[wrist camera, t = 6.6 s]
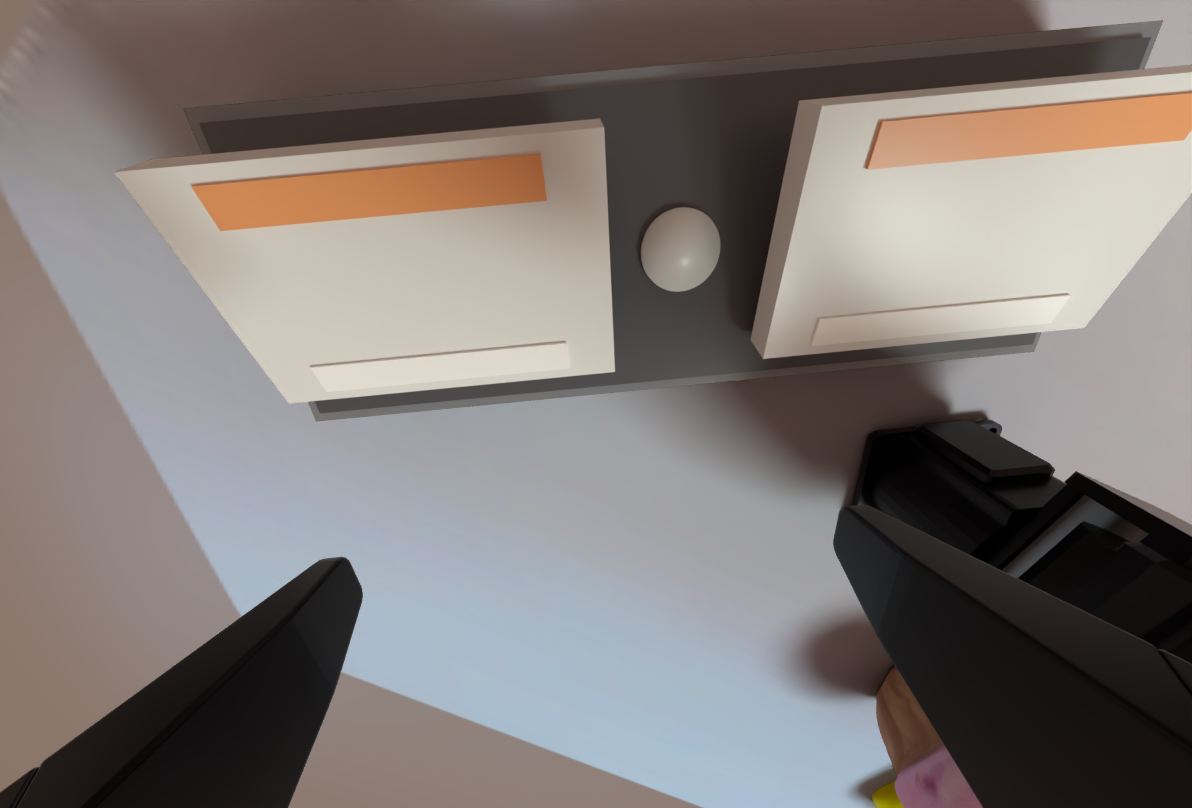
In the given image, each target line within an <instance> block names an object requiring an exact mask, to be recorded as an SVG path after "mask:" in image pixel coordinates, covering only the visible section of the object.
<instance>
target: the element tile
mask: <svg viewBox="0 0 1192 808" xmlns="http://www.w3.org/2000/svg"><path fill="white" fill-rule="evenodd" d="M871 798H872V800H873V803H874V805H875V807H876V808H904V807H903V805H902V803H901V801H900V799H899V798H898V796H897V794H896V790H895V781H893V782H891V783H889V784H887V785H885V786H883V787H881V788H879V789H878V790H877V791H875V792H874V793H873V795H872V797H871Z"/></svg>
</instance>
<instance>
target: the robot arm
mask: <svg viewBox="0 0 1192 808" xmlns="http://www.w3.org/2000/svg"><path fill="white" fill-rule="evenodd" d="M1001 431H1002V427H1001V425H1000V424H998V423H996V422H994V421H992V420H979V421H971V420H965V421H955V422H945V423H935V424H924V425H921V426H918V427H908V428H898V429H888V430H879V431H875V432H873V433H872V434H871V435H870V436H869V437H868V439H867V443H866V447H865V451H864V456H863V460H862V464H861V469H860V473H859V477H858V482H857V486H856V490H855V495H854V499H853V503H852V506H845V507H843V508H842V509H841V510H840V512H839V516H838V521H837V525H836V530H835V535H834V540H833V545H834V550H835V553H836V555H837V557H838V559H839V561H840V563H841V565H842V567H843V569H844V571H845V573H846V575H847V577H848V579H849V581H850V583H851V585H852V588H853V590H854V592H855V594H856V596H857V598H858V600H859V602H860V604H861V606H862V608H863V610H864V612H865V614H866V616H867V618H868V620H869V622H870V624H871V626H872V627H873V629H874V631H875V633H876V635H877V637H878V638H879V640H880V642H881V644H882V645H883V647H884V649H885V650H886V652H887V654H888V655H889V657H890V658H891V660H892V662H893V663H894V665H895V666H896V668H897V670H898V671H899V673H900V675H901V676H902V678H903V679H904V681H905V683H906V684H907V686H908V688H909V689H910V691H911V692H912V694H913V696H914V697H915V699H916V700H917V702H918V704H919V705H920V707H921V709H922V710H923V712H924V713H925V715H926V717H927V718H928V720H929V721H930V723H931V725H932V726H933V728H934V730H935V731H936V733H937V734H938V736H939V738H940V739H941V741H942V743H943V744H944V746H945V747H946V749H947V751H948V752H949V754H950V755H951V757H952V759H953V760H954V762H955V764H956V765H957V767H958V768H959V770H960V772H961V773H962V775H963V776H964V778H965V780H966V781H967V783H968V785H969V786H970V788H971V789H972V791H973V793H974V794H975V796H976V798H977V799H978V801H979V802H980V804H981V806H982V807H983V808H1192V525H1191V524H1189V523H1187V522H1185V521H1183V520H1181V519H1179V518H1177V517H1175V516H1173V515H1171V514H1169V513H1167V512H1165V511H1163V510H1161V509H1159V508H1157V507H1155V506H1153V505H1151V504H1149V503H1147V502H1144V501H1142V500H1140V499H1138V498H1135V497H1133V496H1131V495H1129V494H1126V493H1124V492H1122V491H1120V490H1117V489H1115V488H1113V487H1111V486H1108V485H1106V484H1104V483H1101V482H1099V481H1097V480H1095V479H1092V478H1090V477H1088V476H1086V475H1083V474H1081V473H1079V472H1077V471H1076V472H1075V473H1073V474H1072V475H1071V476H1070V477H1069V478H1068V479H1067V480H1066V481H1065V483H1064V482H1062V481H1060V480H1059V479H1057V478H1055V477H1053V473H1054V471H1055V469H1054V468H1053V467H1052V466H1051V464H1050V463H1048V462H1046V461H1044V460H1042V459H1041V458H1039V457H1037V456H1035V455H1033V454H1031V453H1030V452H1028V451H1026V450H1024V449H1022V448H1021V447H1019V446H1017V445H1015V444H1013V443H1011V442H1010V441H1008V440H1006V439H1004V438H1002V437H1000V434H1001ZM880 439H881V441H880V442H879V443H878V441H879V440H880ZM362 597H363V592H362V587H361V585H360V583H359V581H358V578H357V576H356V574H355V572H354V570H353V568H352V565H351V563H350V562H349V560H348V559H346V558H345V557H336V558H326V559H322V560H319V561H318V562H316V563H315V564H313V565H312V566H311V567H309V568H308V569H307V570H305V571H304V572H302V573H301V574H300V575H298V576H297V577H296V578H294V579H293V580H291V581H290V582H289V583H287V584H286V585H285V586H283V587H282V588H280V589H279V590H278V591H276V592H275V593H274V594H272V595H271V596H269V597H268V598H267V599H265V600H264V601H263V602H261V603H260V604H258V605H257V606H256V607H254V608H253V609H252V610H250V611H249V612H247V613H246V614H245V615H243V616H242V617H241V618H239V619H238V620H236V621H235V622H234V623H232V624H231V625H230V626H228V627H227V628H225V629H224V630H223V631H221V632H220V633H219V634H217V635H216V636H214V637H213V638H212V639H210V640H209V641H208V642H206V643H205V644H203V645H202V646H201V647H199V648H198V649H197V650H195V651H194V652H192V653H191V654H190V655H189V656H187V657H186V658H184V659H183V660H182V661H180V662H179V663H177V664H176V665H175V666H173V667H172V668H171V669H169V670H168V671H166V672H165V673H164V674H162V675H161V676H160V677H158V678H157V679H156V680H154V681H153V682H151V683H150V684H149V685H147V686H146V687H144V688H143V689H142V690H140V691H139V692H138V693H136V694H135V695H133V696H132V697H131V698H129V699H128V700H127V701H125V702H124V703H122V704H121V705H120V706H119V707H117V708H116V709H114V710H113V711H111V712H110V713H109V714H107V715H106V716H105V717H103V718H102V719H101V720H99V721H98V722H96V723H95V724H94V725H92V726H91V727H89V728H88V729H87V730H85V731H84V732H83V733H81V734H80V735H78V736H77V737H76V738H74V739H73V740H72V741H70V742H69V743H67V744H66V745H65V746H63V747H62V748H61V749H59V750H58V751H57V752H55V753H54V754H52V755H51V756H50V757H48V758H47V759H46V760H44V761H43V762H42V764H41V765H40V767H36V768H33V769H32V770H30V771H29V772H27V773H26V774H25V775H23V776H22V777H21V778H19V779H18V780H16V781H15V782H14V783H12V784H11V785H10V786H8V787H7V788H6V789H4V790H3V791H1V792H0V808H288V806H289V804H290V801H291V799H292V796H293V793H294V792H295V789H296V786H297V784H298V782H299V779H300V777H301V774H302V772H303V769H304V767H305V764H306V762H307V759H308V757H309V754H310V752H311V749H312V747H313V745H314V742H315V739H316V737H317V735H318V732H319V730H320V727H321V725H322V722H323V720H324V717H325V715H326V712H327V710H328V707H329V705H330V702H331V699H332V697H333V694H334V692H335V689H336V685H337V683H338V680H339V677H340V673H341V670H342V667H343V663H344V660H345V657H346V653H347V650H348V647H349V643H350V640H351V637H352V633H353V630H354V627H355V623H356V620H357V617H358V613H359V610H360V607H361V603H362Z"/></svg>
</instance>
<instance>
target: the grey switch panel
mask: <svg viewBox="0 0 1192 808" xmlns="http://www.w3.org/2000/svg"><path fill="white" fill-rule="evenodd" d="M1162 22H1163V20H1161V21H1150V22H1139V23H1128V24H1117V25H1105V26H1094V27H1083V28H1072V29H1061V30H1050V31H1039V32H1028V33H1017V34H1006V35H994V36H983V37H972V38H961V39H950V40H939V41H928V42H917V43H906V44H894V45H883V46H872V47H861V48H850V49H839V50H828V51H817V52H806V53H795V54H783V55H772V56H761V57H750V58H739V59H728V60H717V61H706V62H695V63H683V64H672V65H661V66H650V67H639V68H628V69H617V70H606V71H595V72H584V73H572V74H561V75H550V76H539V77H528V78H517V79H506V80H495V81H484V82H473V83H461V84H450V85H439V86H428V87H417V88H406V89H395V90H384V91H373V92H361V93H350V94H339V95H328V96H317V97H306V98H295V99H284V100H273V101H262V102H250V103H239V104H228V105H217V106H206V107H195V108H184V112H185V114H186V116H187V119H188V121H189V123H190V126H191V128H192V130H193V133H194V135H195V138H196V140H197V142H198V145H199V147H200V149H201V152H202V154H203V155H205V154H216V153H227V152H238V151H249V150H260V149H271V148H282V147H293V146H304V145H315V144H326V143H337V142H348V141H359V140H370V139H381V138H392V137H403V136H414V135H425V134H436V133H447V132H457V131H468V130H479V129H490V128H501V127H512V126H523V125H534V124H545V123H556V122H567V121H578V120H589V119H601V122H602V124H603V126H604V133H605V156H606V178H607V201H608V223H609V246H610V269H611V291H612V314H613V336H614V359H615V372H609V373H599V374H589V375H578V376H568V377H558V378H547V379H537V380H527V381H516V382H506V383H496V384H485V385H475V386H465V387H454V388H444V389H434V390H423V391H413V392H403V393H392V394H382V395H372V396H361V397H351V398H341V399H330V400H320V401H310V402H308V403H309V406H310V408H311V410H312V413H313V415H314V417H315V420H316V421H325V420H336V419H346V418H356V417H367V416H377V415H387V414H397V413H408V412H418V411H428V410H439V409H449V408H459V407H470V406H480V405H490V404H500V403H511V402H521V401H531V400H542V399H552V398H562V397H572V396H583V395H593V394H603V393H614V392H624V391H634V390H644V389H655V388H665V387H675V386H686V385H696V384H706V383H717V382H727V381H737V380H747V379H758V378H768V377H778V376H789V375H799V374H809V373H819V372H830V371H840V370H850V369H861V368H871V367H881V366H891V365H902V364H912V363H922V362H933V361H943V360H953V359H963V358H974V357H984V356H994V355H1005V354H1015V353H1025V352H1034V350H1035V348H1036V345H1037V343H1038V340H1039V337H1040V335H1041V332H1036V333H1026V334H1015V335H1005V336H995V337H984V338H974V339H964V340H953V341H943V342H933V343H922V344H912V345H902V346H891V347H881V348H871V349H860V350H850V351H840V352H829V353H819V354H809V355H798V356H788V357H778V358H767V359H763V358H762V357H761V355H760V354H759V352H758V351H757V349H756V348H755V346H754V344H753V343H752V341H751V335H752V330H753V325H754V320H755V315H756V310H757V305H758V301H759V296H760V291H761V286H762V281H763V276H764V271H765V266H766V261H767V256H768V251H769V246H770V241H771V236H772V232H773V227H774V222H775V217H776V212H777V207H778V202H779V197H780V192H781V187H782V182H783V177H784V172H785V167H786V163H787V158H788V153H789V148H790V143H791V138H792V133H793V128H794V123H795V118H796V113H797V108H798V103H799V101H800V100H811V99H822V98H833V97H844V96H855V95H866V94H877V93H888V92H899V91H909V90H920V89H931V88H942V87H953V86H964V85H975V84H986V83H997V82H1008V81H1019V80H1030V79H1041V78H1052V77H1063V76H1074V75H1085V74H1096V73H1107V72H1118V71H1129V70H1140V69H1144V68H1145V66H1146V63H1147V61H1148V58H1149V56H1150V53H1151V50H1152V48H1153V45H1154V43H1155V40H1156V38H1157V35H1158V33H1159V30H1160V27H1161V25H1162Z"/></svg>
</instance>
